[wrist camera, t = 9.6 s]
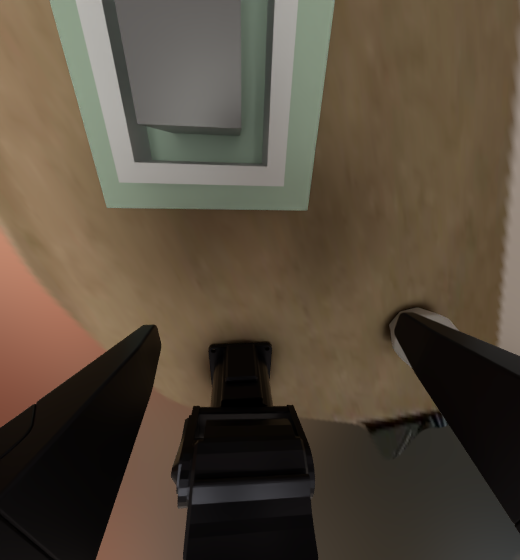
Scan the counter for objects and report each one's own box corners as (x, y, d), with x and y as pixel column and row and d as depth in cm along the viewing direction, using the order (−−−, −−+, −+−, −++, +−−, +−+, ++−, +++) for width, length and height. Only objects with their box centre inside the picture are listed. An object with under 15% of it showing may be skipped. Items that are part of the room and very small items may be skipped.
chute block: (239, 135, 15) (241, 128, 9) (173, 133, 14) (137, 123, 9) (237, -35, 11) (239, -196, 6) (150, -45, 11) (72, -226, 6)
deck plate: (303, 207, 18) (320, 221, 15) (113, 204, 17) (81, 219, 13) (348, -161, 10) (405, -316, 7) (2, -222, 9) (-144, -454, 6)
